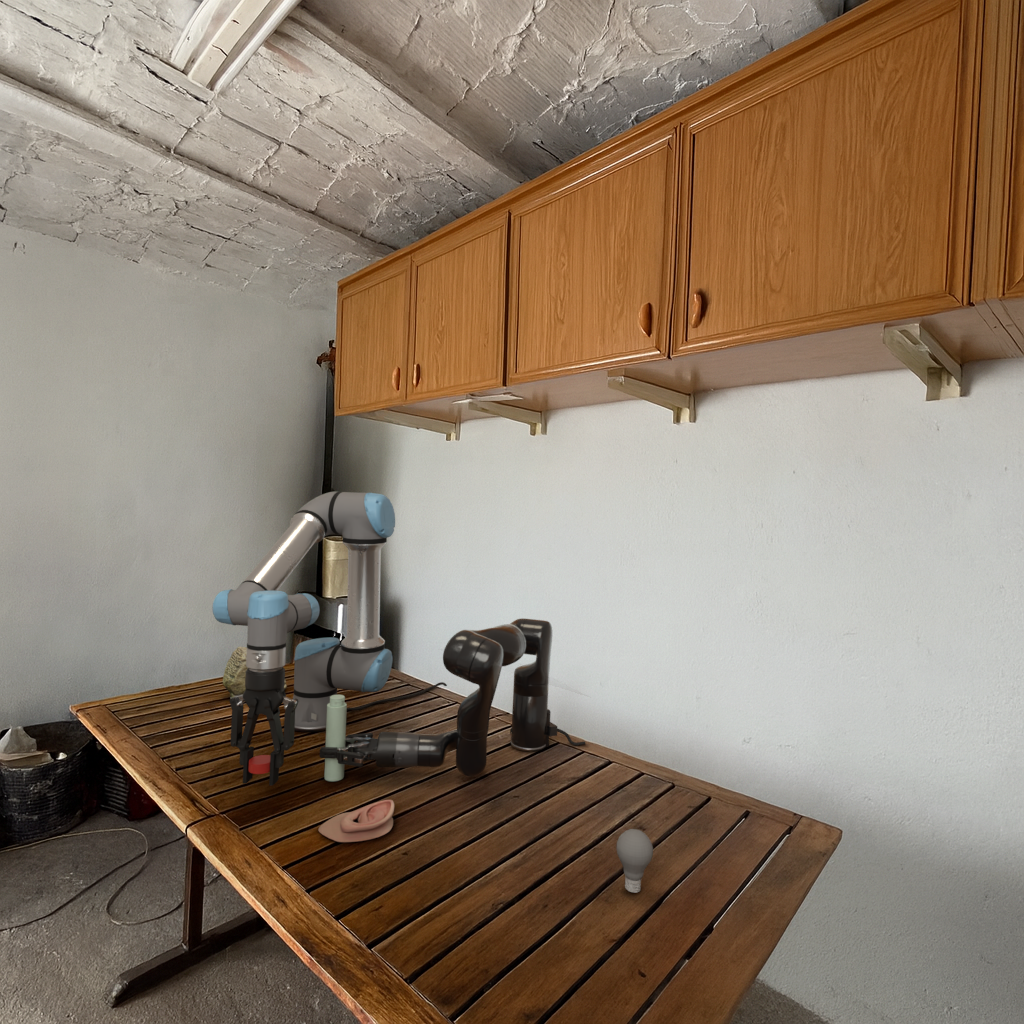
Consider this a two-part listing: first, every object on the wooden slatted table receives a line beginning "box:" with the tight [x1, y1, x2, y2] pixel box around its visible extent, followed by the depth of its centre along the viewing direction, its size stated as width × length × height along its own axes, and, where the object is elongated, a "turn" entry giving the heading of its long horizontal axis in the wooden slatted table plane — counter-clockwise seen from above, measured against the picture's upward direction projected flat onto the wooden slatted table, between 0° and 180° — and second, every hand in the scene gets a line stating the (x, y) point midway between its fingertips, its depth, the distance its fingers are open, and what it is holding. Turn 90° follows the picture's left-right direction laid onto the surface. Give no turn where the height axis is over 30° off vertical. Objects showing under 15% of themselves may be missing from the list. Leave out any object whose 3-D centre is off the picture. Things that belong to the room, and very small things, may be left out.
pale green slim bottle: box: [323, 694, 348, 782], centre depth 143 cm, size 4×4×18 cm
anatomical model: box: [317, 799, 395, 843], centre depth 122 cm, size 13×4×12 cm
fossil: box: [222, 646, 288, 699], centre depth 198 cm, size 9×18×15 cm, turn 132°
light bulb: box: [615, 828, 654, 894], centre depth 106 cm, size 6×6×10 cm
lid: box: [248, 754, 271, 775], centre depth 129 cm, size 5×5×2 cm
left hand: (260, 781), depth 129 cm, fingers closed on lid, 5 cm apart
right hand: (323, 748), depth 143 cm, fingers closed on pale green slim bottle, 4 cm apart
